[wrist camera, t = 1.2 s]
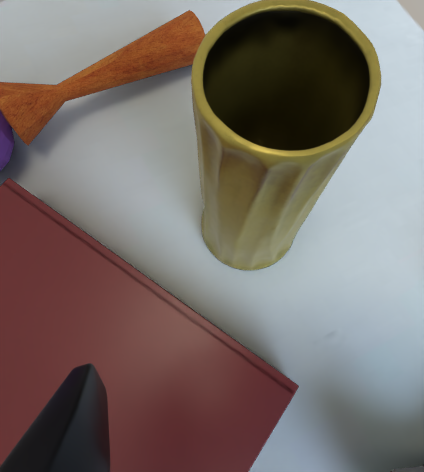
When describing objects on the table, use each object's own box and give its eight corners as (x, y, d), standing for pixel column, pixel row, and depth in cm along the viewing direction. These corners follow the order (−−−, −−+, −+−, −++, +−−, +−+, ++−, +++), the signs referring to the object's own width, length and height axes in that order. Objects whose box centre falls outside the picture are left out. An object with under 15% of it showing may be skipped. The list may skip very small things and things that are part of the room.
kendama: (223, 43, 22) (-105, 184, 19) (210, 94, 28) (-41, 209, 25) (178, -35, 23) (-154, 87, 19) (174, 30, 29) (-79, 134, 25)
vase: (292, 181, 24) (386, -19, 10) (297, 271, 23) (416, 175, 9) (202, 182, 24) (177, -15, 11) (200, 271, 23) (169, 176, 9)
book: (287, 378, 21) (299, 386, 18) (149, 606, 18) (134, 663, 15) (36, 197, 24) (8, 177, 21) (-112, 367, 22) (-169, 373, 18)
